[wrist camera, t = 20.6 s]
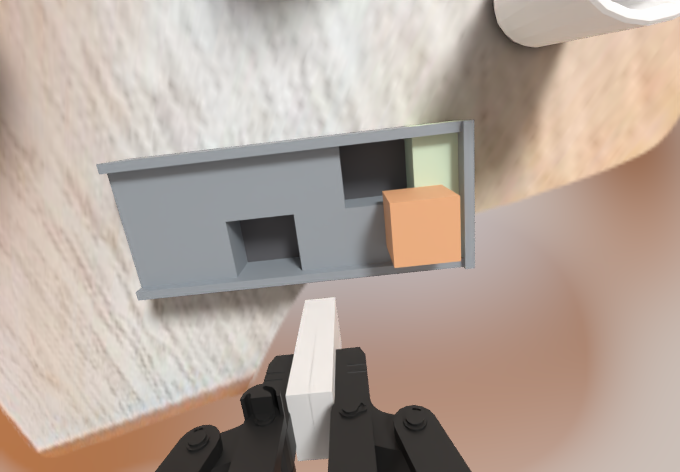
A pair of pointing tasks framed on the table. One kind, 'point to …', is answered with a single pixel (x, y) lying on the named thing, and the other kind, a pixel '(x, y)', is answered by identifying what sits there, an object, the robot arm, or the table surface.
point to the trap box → (284, 207)
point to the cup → (577, 18)
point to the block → (422, 225)
